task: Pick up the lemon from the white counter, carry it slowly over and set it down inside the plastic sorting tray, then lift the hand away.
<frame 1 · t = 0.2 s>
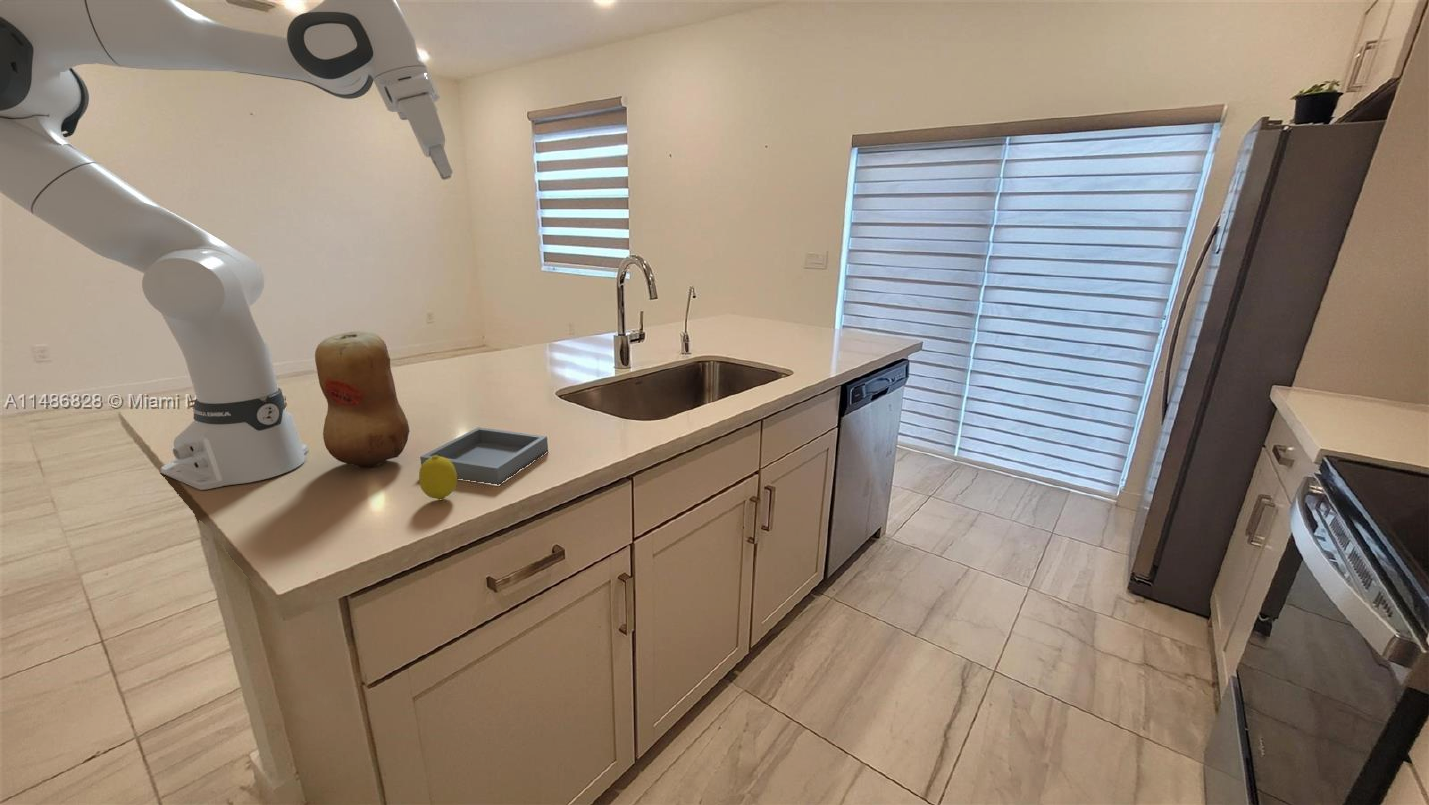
hand: (447, 177, 100), 52 cm above the countertop, tool tilted 20°, fingers open, 8 cm apart
butternut squash: (373, 464, 104), on the countertop
lemon: (441, 501, 92), on the countertop
sorting tray: (488, 462, 106), on the countertop
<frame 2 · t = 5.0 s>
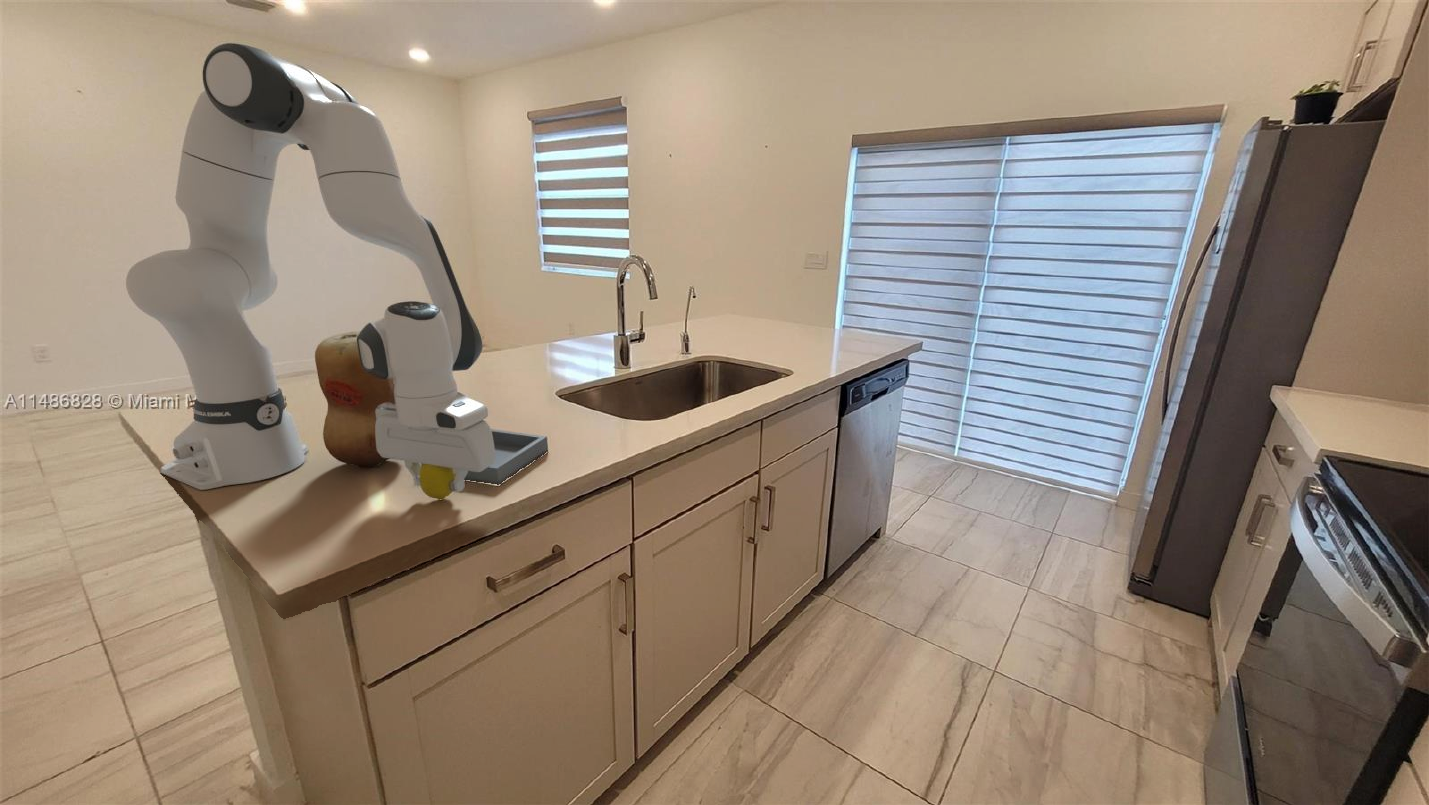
hand: (439, 487, 91), 2 cm above the countertop, tool pointing down, fingers closed on lemon, 5 cm apart
lemon: (441, 501, 92), on the countertop, touching gripper
everything else where it was.
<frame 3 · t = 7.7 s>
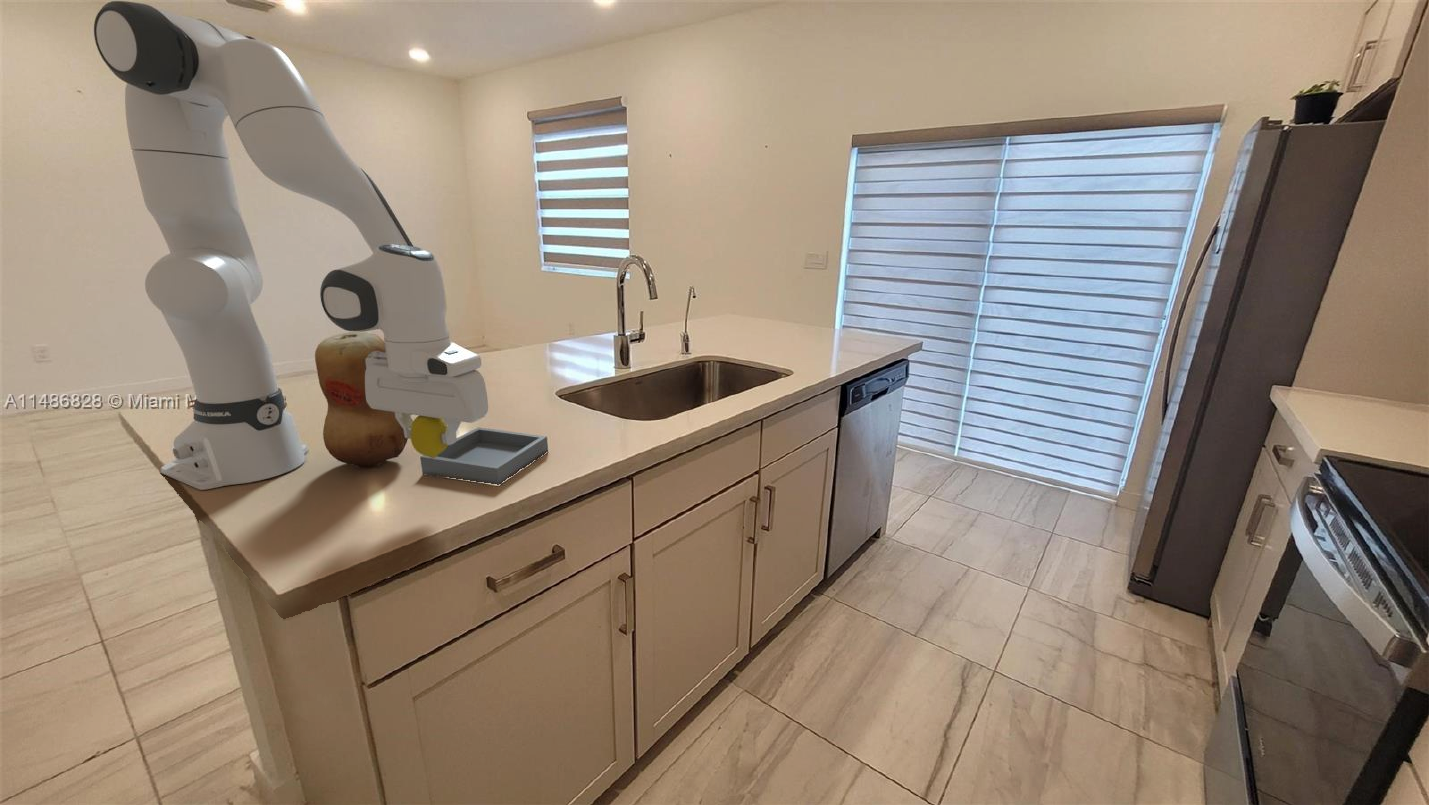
hand: (430, 440, 88), 11 cm above the countertop, tool pointing down, fingers closed on lemon, 6 cm apart
lemon: (433, 459, 89), point 7 cm above the countertop, touching gripper
everything else where it was.
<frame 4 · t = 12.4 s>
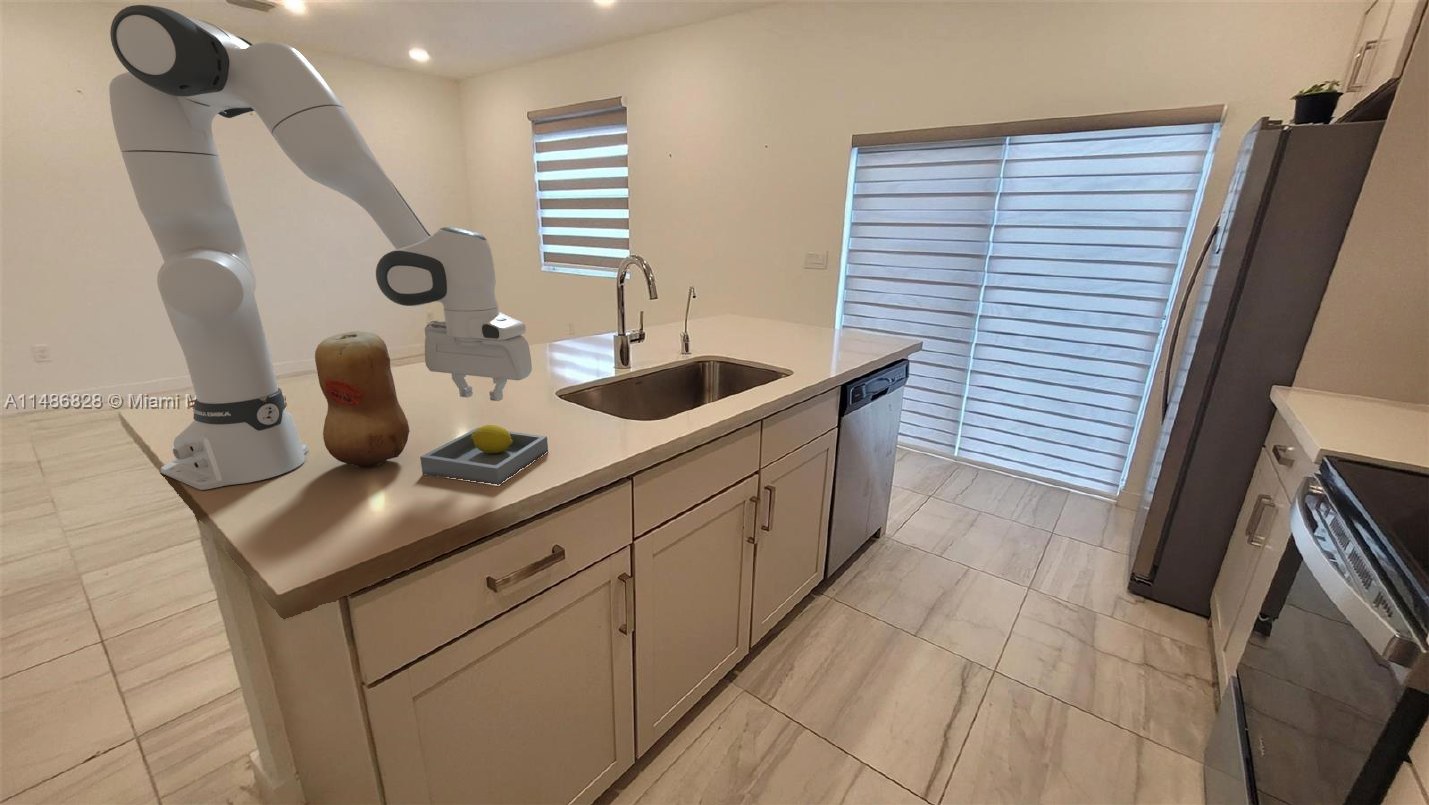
hand: (481, 398, 102), 13 cm above the countertop, tool pointing down, fingers open, 5 cm apart
lemon: (470, 435, 108), point 4 cm above the countertop, touching sorting tray
everything else where it was.
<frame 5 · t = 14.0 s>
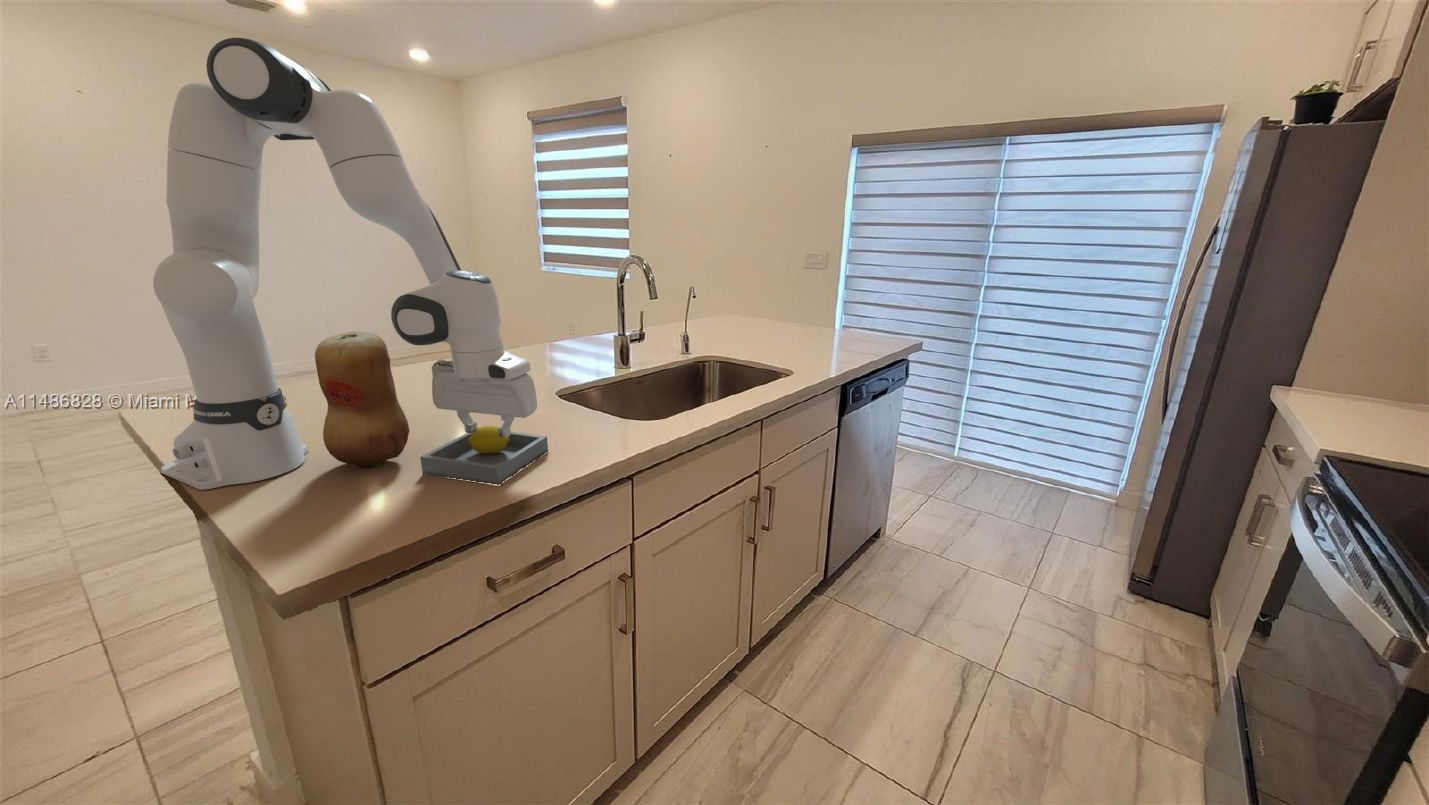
hand: (488, 434, 104), 6 cm above the countertop, tool pointing down, fingers open, 6 cm apart
lemon: (467, 440, 108), point 3 cm above the countertop, touching gripper, sorting tray
everything else where it was.
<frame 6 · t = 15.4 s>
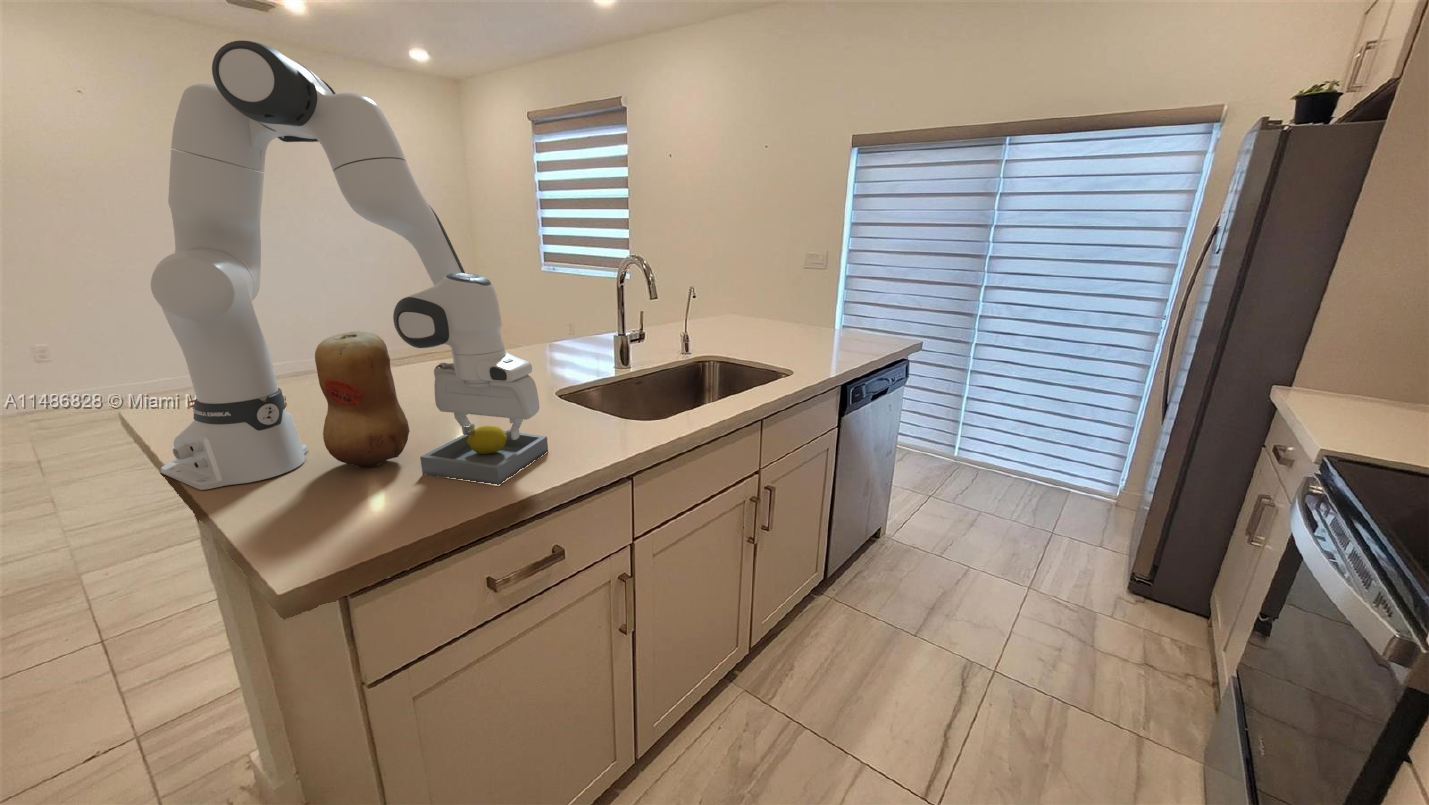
hand: (491, 436, 104), 6 cm above the countertop, tool pointing down, fingers open, 8 cm apart
nothing on the countertop moved.
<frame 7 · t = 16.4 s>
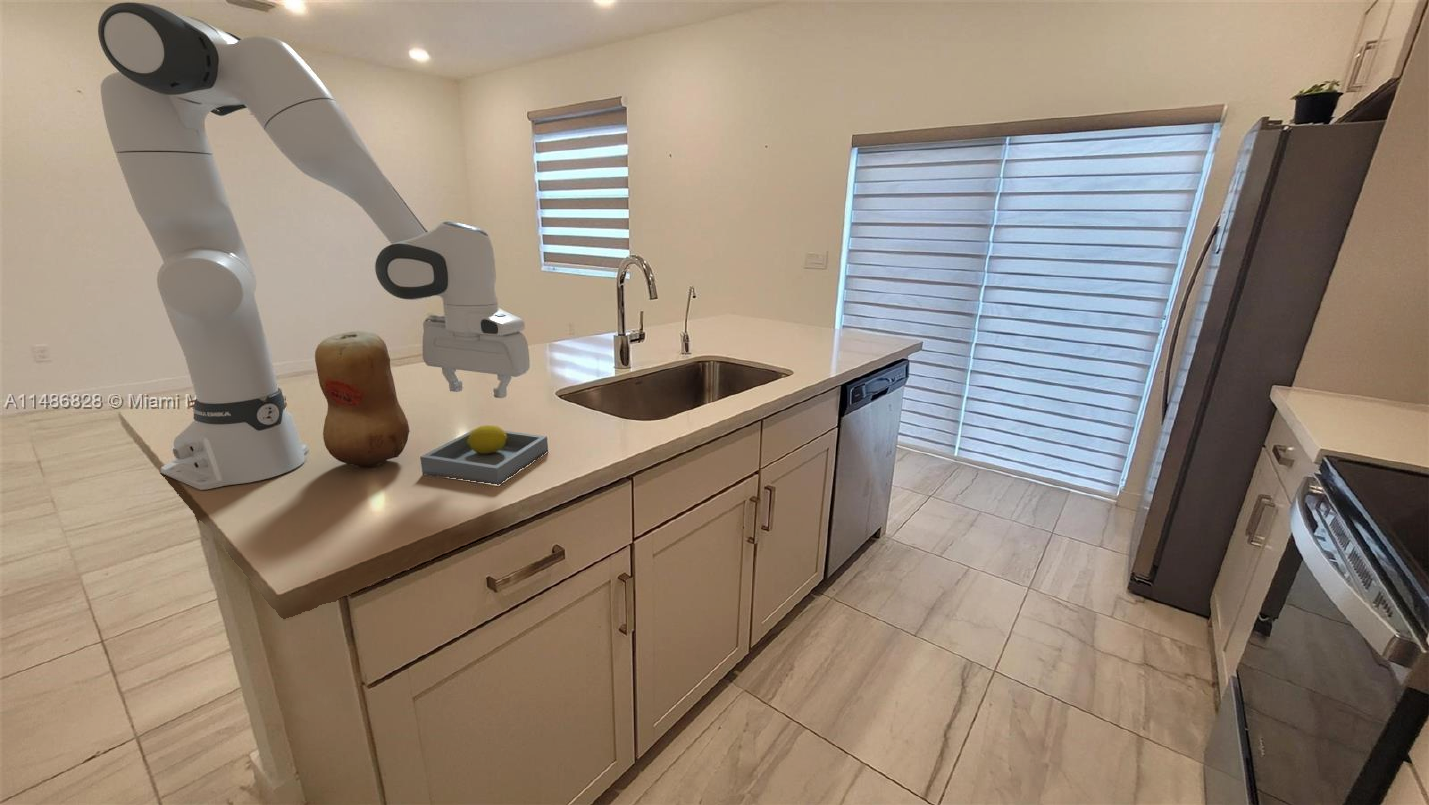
hand: (478, 394, 101), 14 cm above the countertop, tool pointing down, fingers open, 8 cm apart
lemon: (466, 442, 108), point 3 cm above the countertop, touching sorting tray
everything else where it was.
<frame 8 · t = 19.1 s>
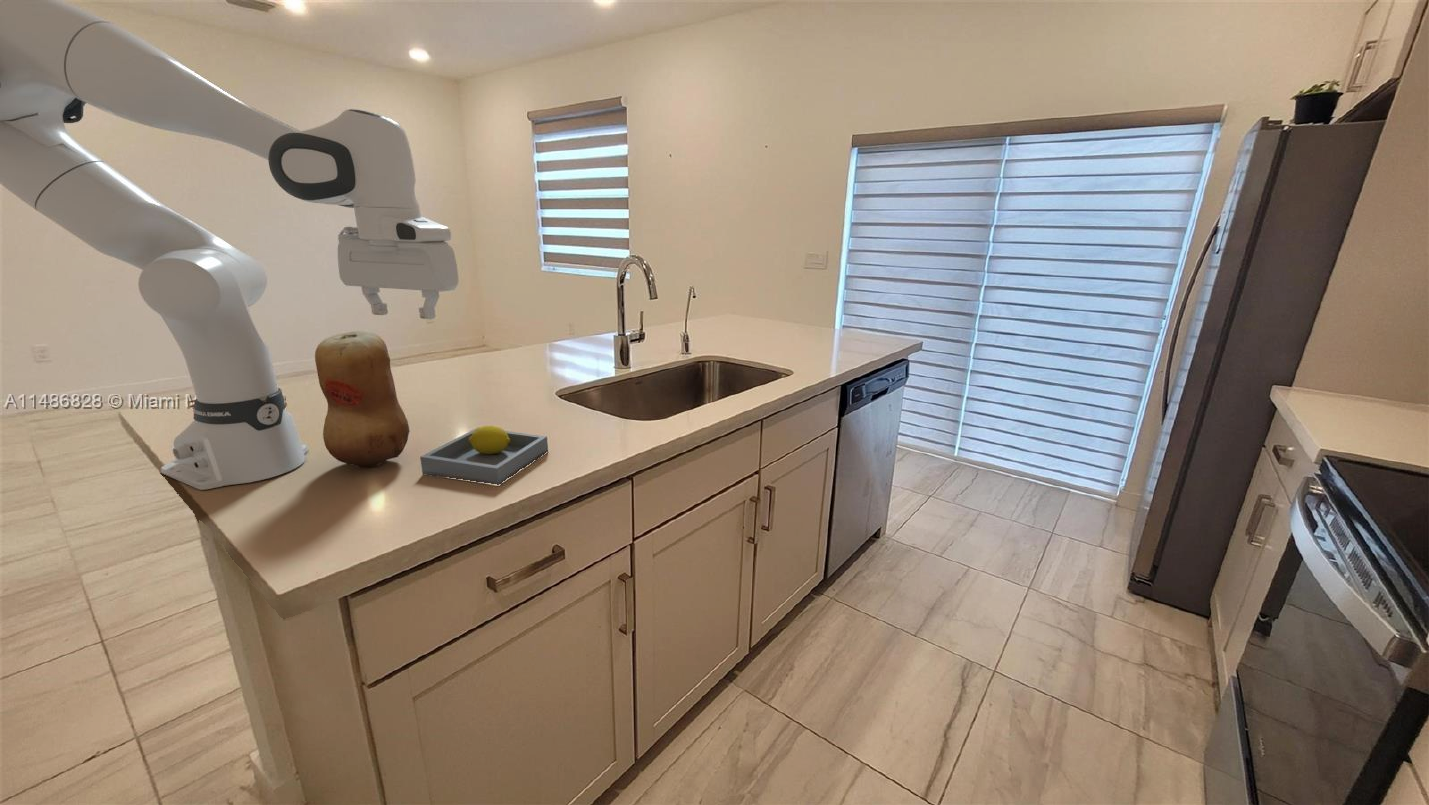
hand: (403, 316, 90), 29 cm above the countertop, tool pointing down, fingers open, 8 cm apart
nothing on the countertop moved.
at the end: lemon inside the target area on the sorting tray (5.7 cm from its centre), point 3.6 cm above the sorting tray's base; the gripper is holding nothing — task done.
